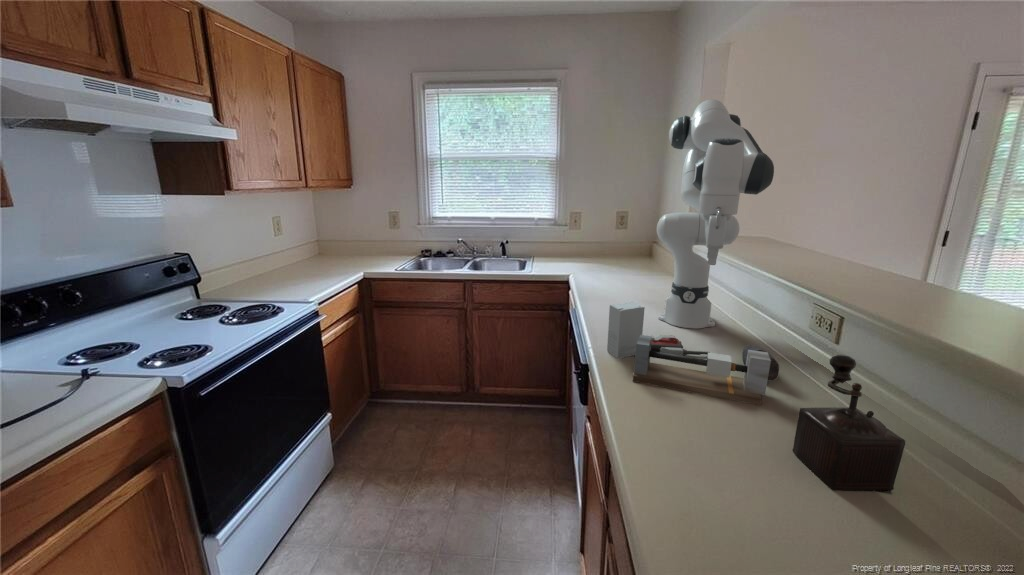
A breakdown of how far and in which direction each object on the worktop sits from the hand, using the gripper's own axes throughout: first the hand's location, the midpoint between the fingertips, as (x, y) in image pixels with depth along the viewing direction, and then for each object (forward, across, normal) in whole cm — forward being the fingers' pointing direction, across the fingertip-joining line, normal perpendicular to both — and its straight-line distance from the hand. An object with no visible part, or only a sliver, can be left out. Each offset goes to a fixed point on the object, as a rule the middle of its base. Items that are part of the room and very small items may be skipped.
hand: (711, 261), depth 106 cm
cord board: (+29, -12, +1) cm, 31 cm away
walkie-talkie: (+30, +8, +7) cm, 32 cm away
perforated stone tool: (+29, +2, -14) cm, 33 cm away
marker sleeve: (+25, -12, -4) cm, 28 cm away
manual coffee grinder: (+29, -34, -22) cm, 50 cm away
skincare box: (+29, 0, +20) cm, 35 cm away
